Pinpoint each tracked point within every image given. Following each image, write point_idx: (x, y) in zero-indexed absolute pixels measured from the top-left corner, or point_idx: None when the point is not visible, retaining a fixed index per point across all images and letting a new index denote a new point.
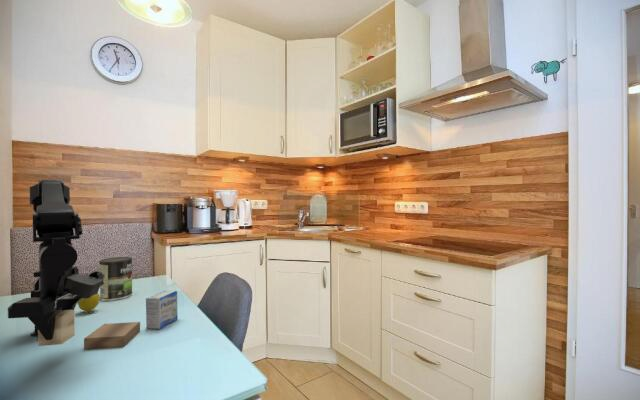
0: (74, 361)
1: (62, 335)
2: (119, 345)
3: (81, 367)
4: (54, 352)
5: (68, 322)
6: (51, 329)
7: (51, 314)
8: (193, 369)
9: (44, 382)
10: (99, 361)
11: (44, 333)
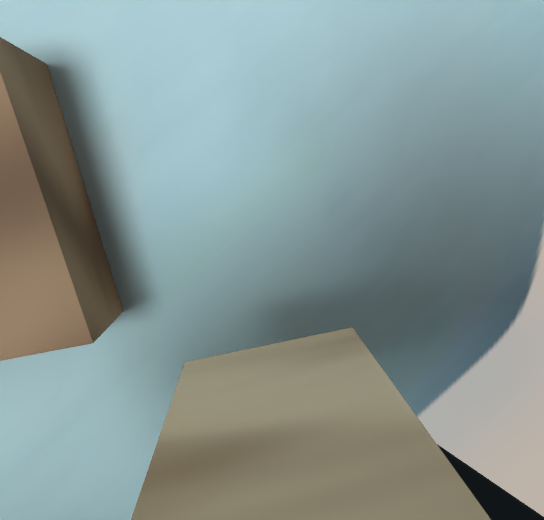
0: (262, 251)
1: (365, 366)
2: (51, 95)
3: (326, 157)
4: None
5: (275, 473)
6: (494, 484)
7: None
8: None
9: (456, 233)
10: (259, 95)
11: None
